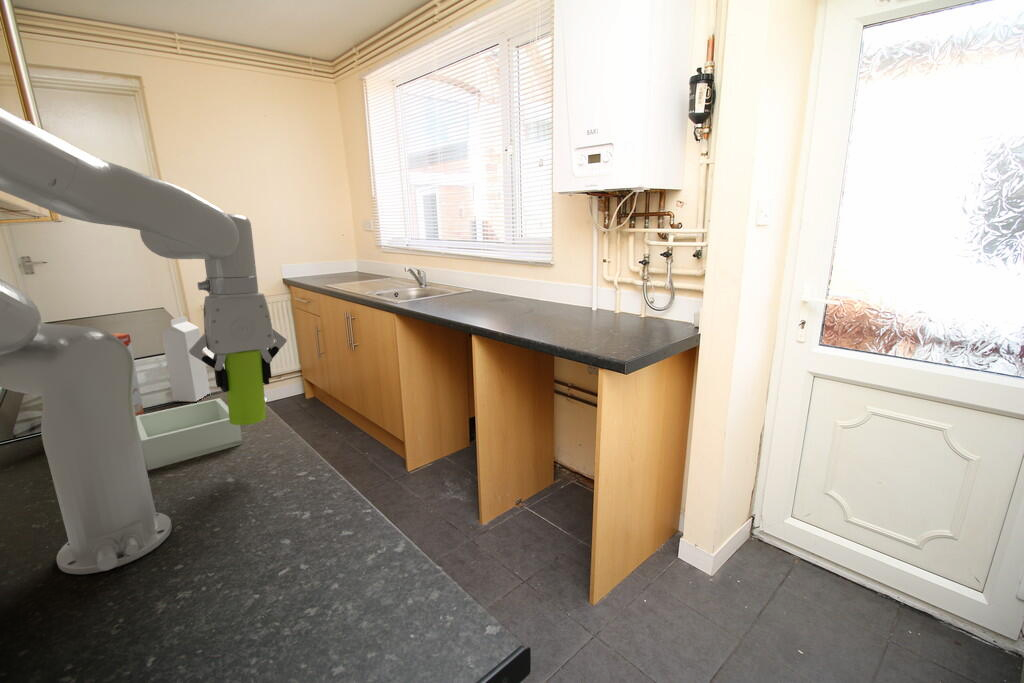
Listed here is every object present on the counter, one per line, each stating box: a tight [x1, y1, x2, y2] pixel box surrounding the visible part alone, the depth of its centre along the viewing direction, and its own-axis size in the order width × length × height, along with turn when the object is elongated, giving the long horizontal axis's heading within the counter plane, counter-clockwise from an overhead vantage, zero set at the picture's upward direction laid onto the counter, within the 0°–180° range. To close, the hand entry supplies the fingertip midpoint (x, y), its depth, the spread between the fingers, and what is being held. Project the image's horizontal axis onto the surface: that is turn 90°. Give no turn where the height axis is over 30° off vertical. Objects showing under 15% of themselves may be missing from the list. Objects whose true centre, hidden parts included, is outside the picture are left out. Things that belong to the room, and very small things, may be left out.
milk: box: [160, 315, 211, 401], centre depth 124 cm, size 6×6×22 cm
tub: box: [136, 397, 244, 471], centre depth 99 cm, size 16×16×6 cm
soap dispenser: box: [223, 350, 267, 426], centre depth 86 cm, size 6×7×20 cm
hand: (245, 385), depth 86 cm, fingers closed on soap dispenser, 6 cm apart
